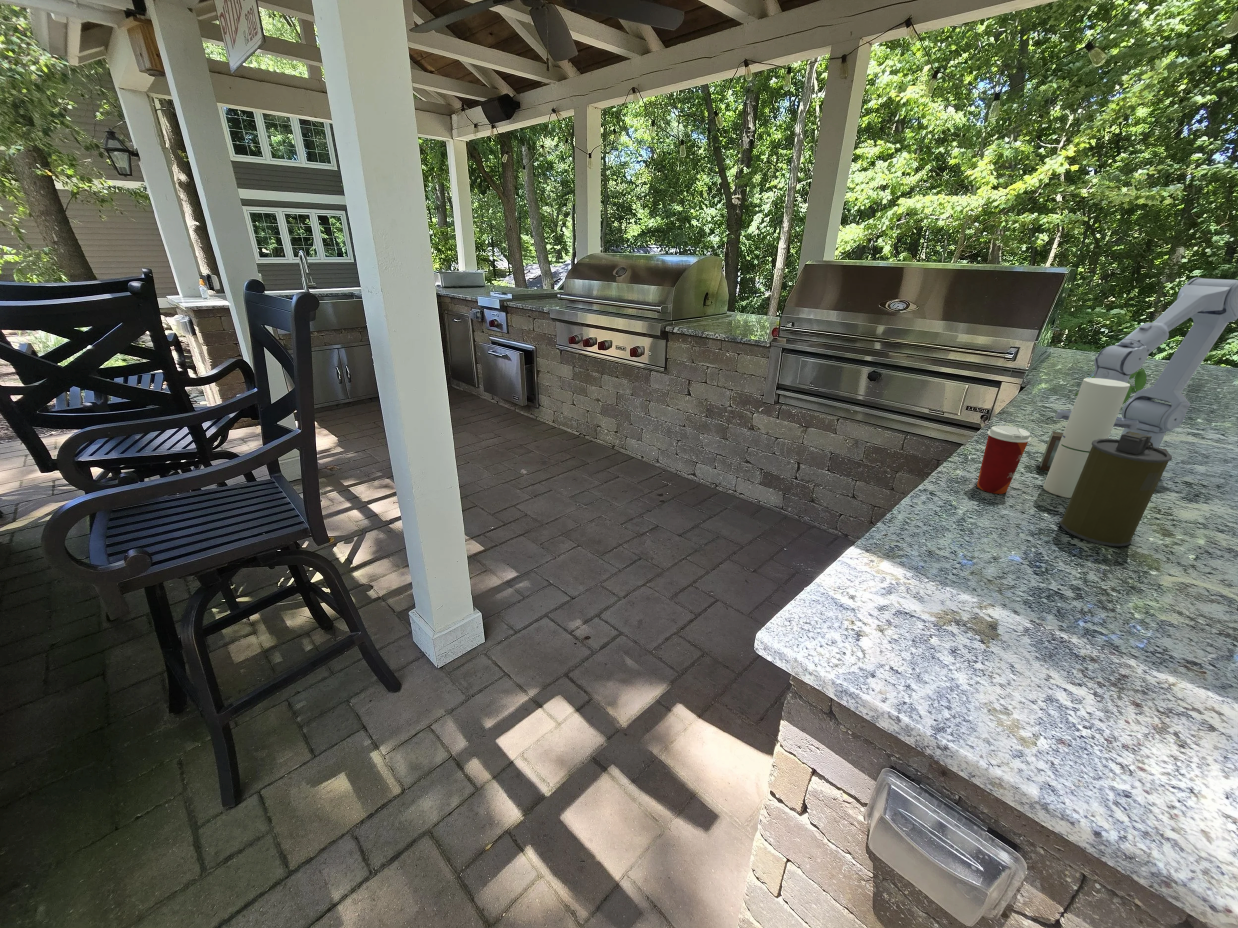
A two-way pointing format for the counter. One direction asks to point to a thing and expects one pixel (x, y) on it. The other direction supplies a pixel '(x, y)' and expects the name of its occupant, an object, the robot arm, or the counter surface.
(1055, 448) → the window frame
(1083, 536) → the canister
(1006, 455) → the paper cup
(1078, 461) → the cylindrical container
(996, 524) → the counter surface
